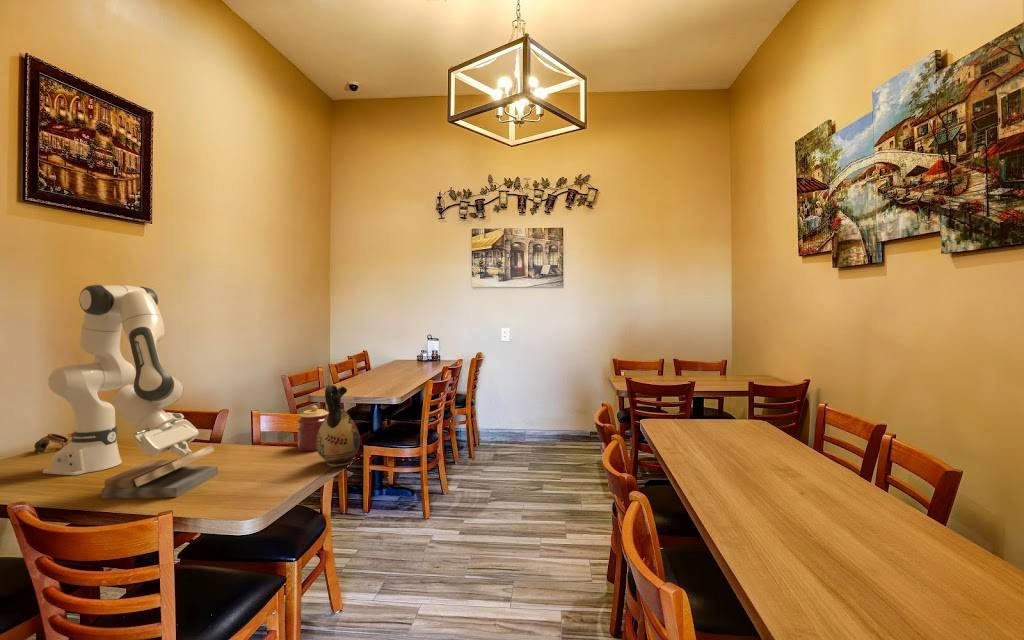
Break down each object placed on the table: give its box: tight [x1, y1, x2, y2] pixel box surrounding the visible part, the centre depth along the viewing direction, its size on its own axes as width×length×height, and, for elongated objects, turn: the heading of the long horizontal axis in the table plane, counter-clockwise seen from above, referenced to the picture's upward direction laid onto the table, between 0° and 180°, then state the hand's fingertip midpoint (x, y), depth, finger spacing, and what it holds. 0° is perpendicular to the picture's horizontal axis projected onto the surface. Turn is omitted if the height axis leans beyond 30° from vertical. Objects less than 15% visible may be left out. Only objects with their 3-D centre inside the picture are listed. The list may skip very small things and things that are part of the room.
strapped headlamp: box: [33, 433, 69, 455], centre depth 192 cm, size 12×10×8 cm
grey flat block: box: [101, 458, 219, 499], centre depth 152 cm, size 23×20×6 cm
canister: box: [297, 405, 329, 452], centre depth 194 cm, size 13×13×18 cm
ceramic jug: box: [316, 384, 361, 468], centre depth 172 cm, size 17×15×30 cm
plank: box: [134, 444, 215, 487], centre depth 152 cm, size 13×19×2 cm
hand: (187, 454), depth 152 cm, fingers closed, pressing on plank
